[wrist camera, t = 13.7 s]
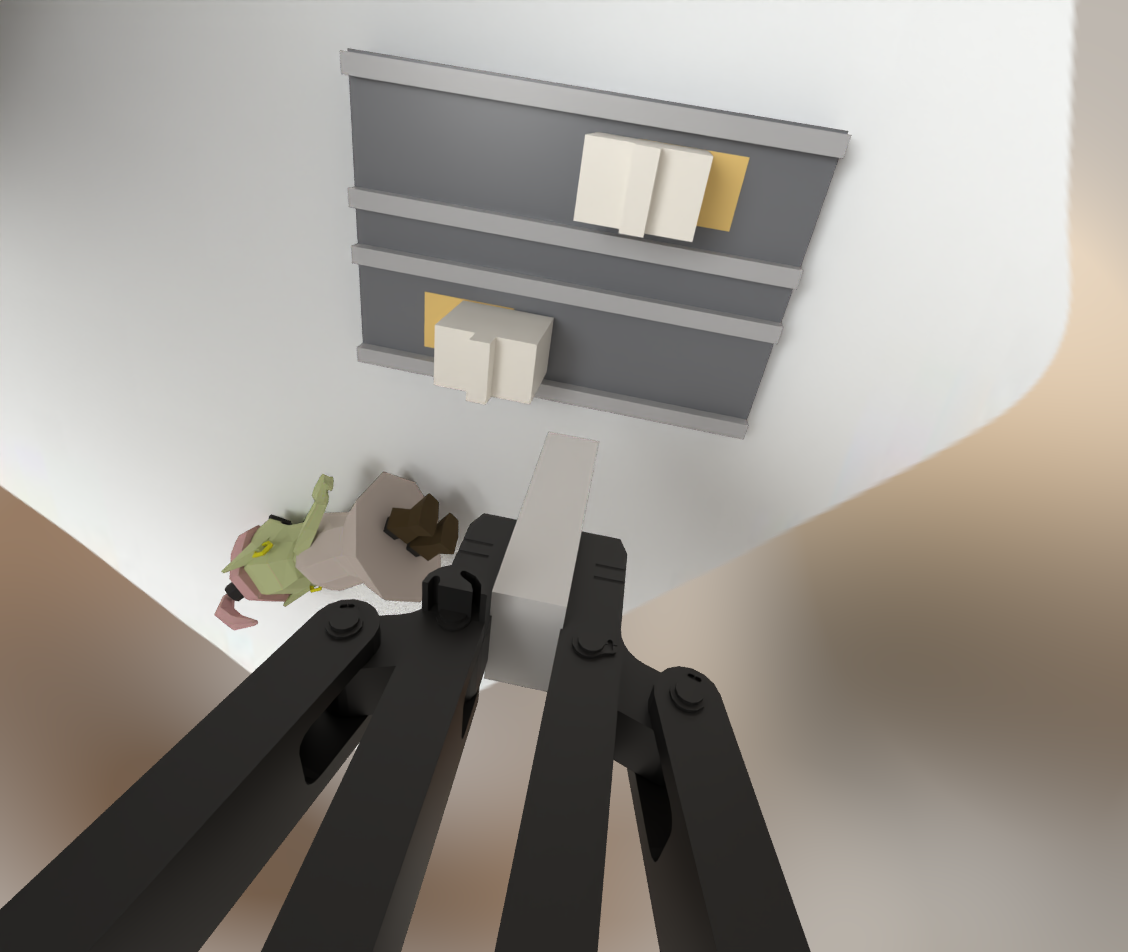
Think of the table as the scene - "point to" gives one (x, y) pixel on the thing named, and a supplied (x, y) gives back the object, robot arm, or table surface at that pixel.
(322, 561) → the figurine
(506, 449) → the table surface
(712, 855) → the robot arm
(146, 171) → the table surface
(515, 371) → the tab
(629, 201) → the tab
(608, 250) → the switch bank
